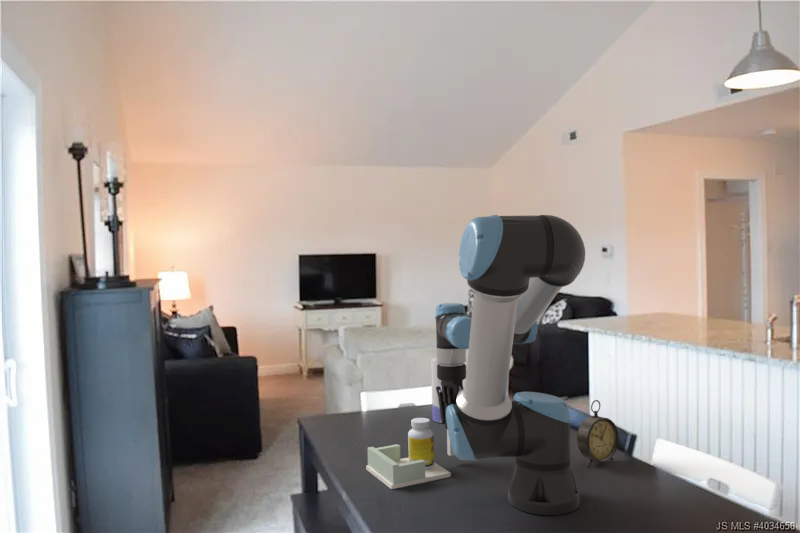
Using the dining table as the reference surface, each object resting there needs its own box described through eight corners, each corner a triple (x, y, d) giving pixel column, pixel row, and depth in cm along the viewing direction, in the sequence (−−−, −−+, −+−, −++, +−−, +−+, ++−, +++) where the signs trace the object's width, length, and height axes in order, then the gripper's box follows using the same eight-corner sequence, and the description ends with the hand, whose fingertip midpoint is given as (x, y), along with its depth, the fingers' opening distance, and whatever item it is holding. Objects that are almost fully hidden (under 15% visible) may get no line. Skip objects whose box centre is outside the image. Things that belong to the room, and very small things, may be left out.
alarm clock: (589, 470, 152) (588, 405, 152) (573, 464, 157) (572, 400, 157) (620, 462, 158) (619, 399, 157) (603, 456, 162) (602, 395, 162)
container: (464, 423, 195) (463, 360, 195) (433, 424, 196) (431, 361, 195) (462, 415, 205) (460, 355, 205) (431, 415, 206) (430, 356, 205)
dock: (450, 476, 150) (450, 454, 150) (391, 489, 143) (390, 465, 143) (421, 458, 164) (421, 438, 164) (366, 469, 157) (365, 447, 157)
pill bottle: (432, 471, 152) (431, 424, 151) (406, 469, 153) (405, 423, 153) (436, 462, 158) (435, 417, 158) (411, 460, 159) (410, 416, 159)
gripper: (477, 366, 155) (479, 459, 155) (451, 358, 166) (453, 445, 167) (451, 369, 151) (453, 464, 152) (426, 361, 163) (428, 449, 164)
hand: (453, 454), depth 159 cm, fingers closed
